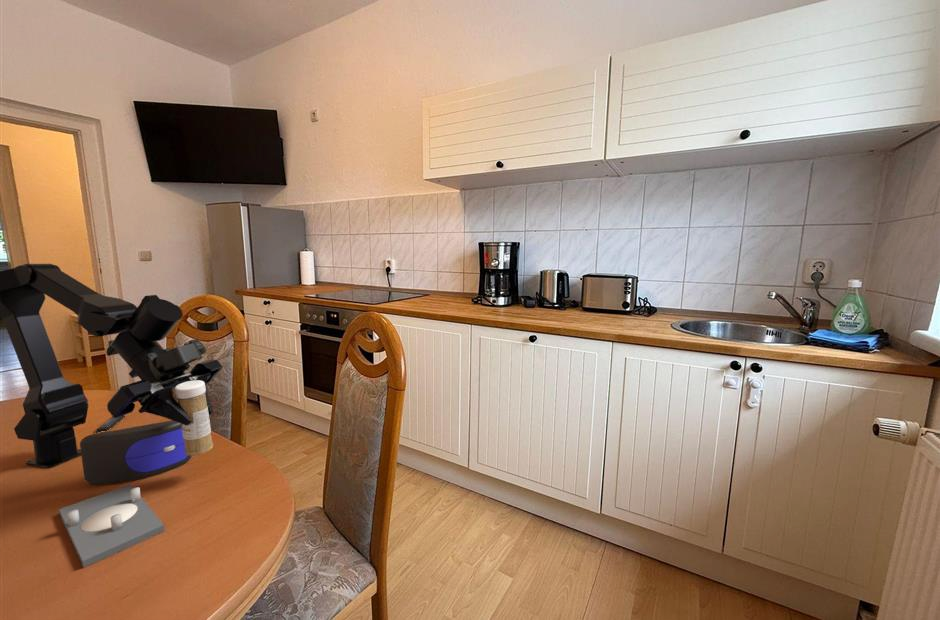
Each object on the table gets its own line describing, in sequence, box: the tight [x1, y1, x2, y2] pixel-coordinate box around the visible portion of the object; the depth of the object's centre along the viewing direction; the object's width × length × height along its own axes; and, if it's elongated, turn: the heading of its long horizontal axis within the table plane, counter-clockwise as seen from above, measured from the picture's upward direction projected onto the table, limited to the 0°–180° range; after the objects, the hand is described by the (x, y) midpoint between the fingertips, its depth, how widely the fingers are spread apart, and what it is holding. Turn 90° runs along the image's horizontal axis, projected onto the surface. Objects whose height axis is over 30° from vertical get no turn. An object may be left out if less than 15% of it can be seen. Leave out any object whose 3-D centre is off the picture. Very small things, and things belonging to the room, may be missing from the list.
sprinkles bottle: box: [174, 380, 214, 457], centre depth 72 cm, size 5×5×13 cm
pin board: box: [58, 483, 166, 569], centre depth 61 cm, size 18×9×3 cm, turn 54°
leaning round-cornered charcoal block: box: [79, 420, 193, 485], centre depth 74 cm, size 16×5×9 cm, turn 123°
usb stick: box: [95, 415, 125, 433], centre depth 97 cm, size 10×3×2 cm, turn 22°
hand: (200, 418), depth 72 cm, fingers closed on sprinkles bottle, 4 cm apart
